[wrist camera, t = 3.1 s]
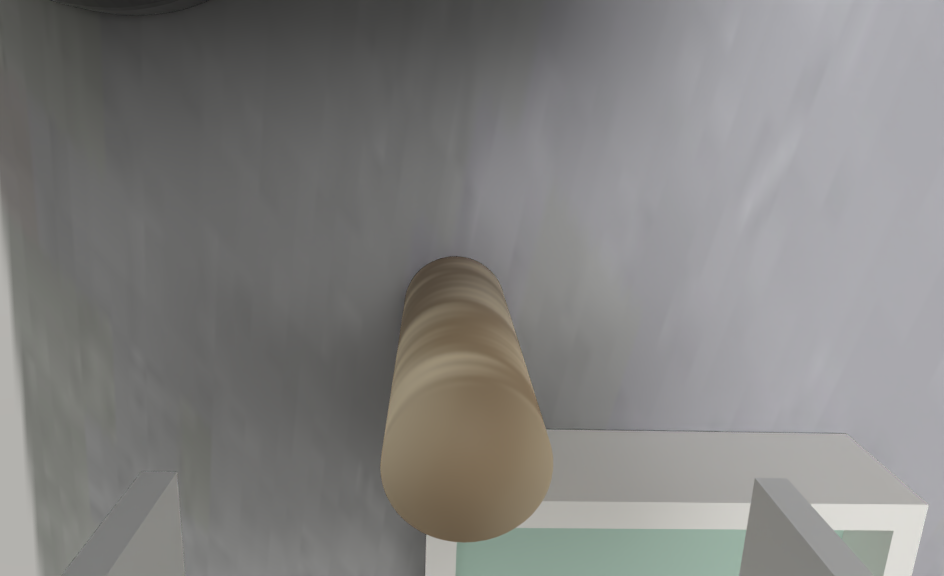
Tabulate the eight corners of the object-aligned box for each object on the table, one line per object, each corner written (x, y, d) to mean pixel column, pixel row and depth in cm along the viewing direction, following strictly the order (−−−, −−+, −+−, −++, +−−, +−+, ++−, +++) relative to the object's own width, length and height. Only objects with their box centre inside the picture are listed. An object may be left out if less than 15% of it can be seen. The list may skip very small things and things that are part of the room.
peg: (404, 350, 32) (379, 542, 19) (405, 255, 31) (380, 386, 17) (501, 352, 32) (547, 543, 19) (506, 257, 31) (559, 389, 18)
